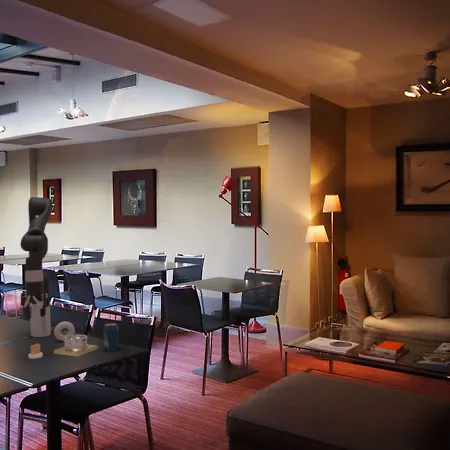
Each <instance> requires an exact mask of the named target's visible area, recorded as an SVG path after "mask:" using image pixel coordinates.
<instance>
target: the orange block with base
mask: <svg viewBox="0 0 450 450" xmlns="http://www.w3.org/2000/svg"><path fill="white" fill-rule="evenodd" d="M43 354H44V353H43V351H42V352H41V344H40V343H35V344H32V345H30V353H28V359H29V360H30V359H31V360H35V359H41V358H43V356H44V355H43Z"/></svg>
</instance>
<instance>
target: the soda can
mask: <svg viewBox="0 0 450 450" xmlns="http://www.w3.org/2000/svg"><path fill="white" fill-rule="evenodd" d="M103 325H104V326H103V328H102V332H103V333H102V336H103V337H102V338H103V339H102V340H103V345H102V346H103V349H104V351H106V352H114V351H115V352H116V351H117V350H118V348H119V347H120V346H119V343H120V342H119V341H120V340H119V327H118V324H117V323H115V322H109V323H105V324H103Z"/></svg>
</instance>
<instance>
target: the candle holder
mask: <svg viewBox="0 0 450 450" xmlns="http://www.w3.org/2000/svg"><path fill="white" fill-rule="evenodd" d="M63 342H64V346H61V347H59V348H55V349H53V354H54V355H62V356H70V357H78V358H79V357H81V356H83V355H86V354H88V353H90V352H93V351H96V350H98V349H99V346H98V345H96V344H95V345H94V344H88V335H86V334H74V335H71V336H67V337H65V338H64V341H63Z"/></svg>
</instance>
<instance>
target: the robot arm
mask: <svg viewBox="0 0 450 450" xmlns="http://www.w3.org/2000/svg"><path fill="white" fill-rule="evenodd" d="M27 208H28V224H29V226H28V228H27V229H28V230H27V231H26V232H25V233H24V235H23V236H22V237H21V239H20V248H21V249H22V251H25V252H28V256H27V257H26V258H25V276H24V279H25V282H24V283H25V285H24V286H25V287H24V288H25V291H24V292H21V293H20V306H21V307H23V308H24V315H25V316H26V317H28V316H30V315H31V317H30V319H29V322H30V325H29V326H30V336H31V337H33V338H45V337H49V336H51V334H52V333H51V332H52V331H51V326H52V325H51V300H50V299H51V297H50V296H51V295H50V290H51V289H50V288H51V275H50V273H49V272H47V271H46V272H45V271H43V259H44V258H45V257H46V256H47V254H48V250H49V239H48V236H47V234H46V233H45V229H46V226H47V223H48V222H49V220H50V217H51V214H52V212H53V201H52V199H51V198H50V197H49V198H48V197H36V196H32V197H30V198H29V199H28V204H27ZM30 306H31V307H30Z"/></svg>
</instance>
